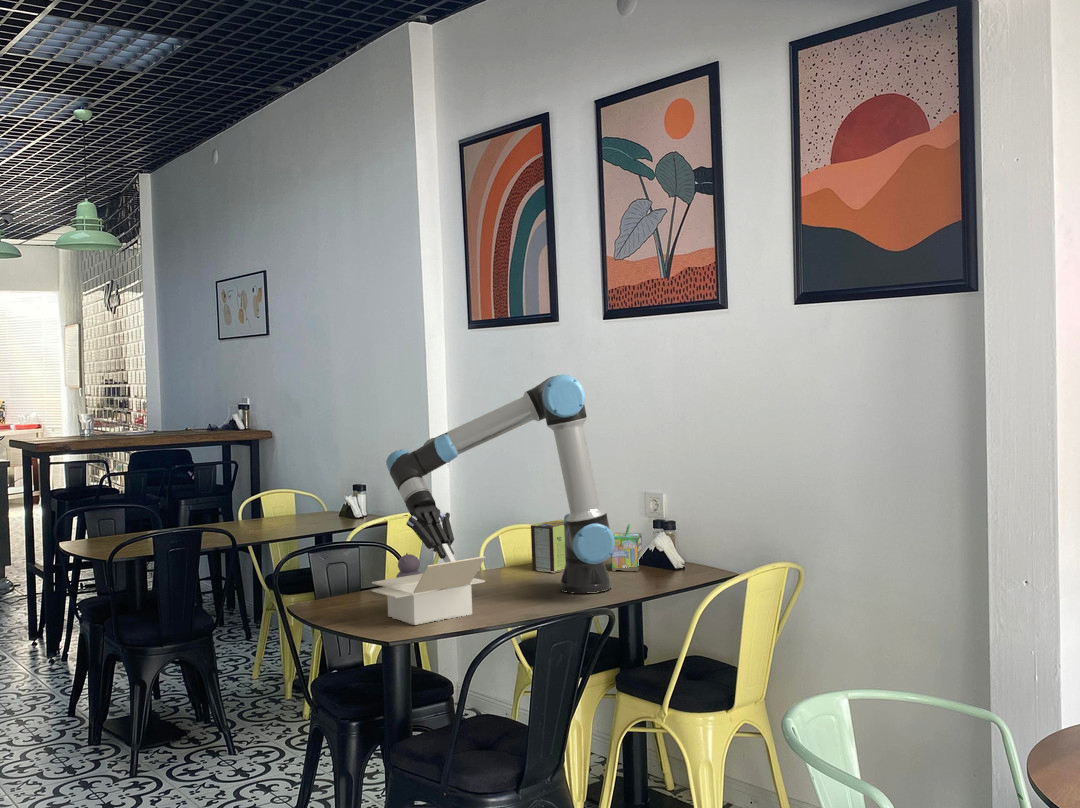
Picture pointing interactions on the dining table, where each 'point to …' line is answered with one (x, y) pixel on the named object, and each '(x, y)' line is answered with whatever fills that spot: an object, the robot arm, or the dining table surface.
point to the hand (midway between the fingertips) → (452, 566)
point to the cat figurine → (408, 565)
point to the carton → (425, 600)
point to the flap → (448, 574)
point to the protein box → (548, 546)
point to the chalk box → (627, 549)
